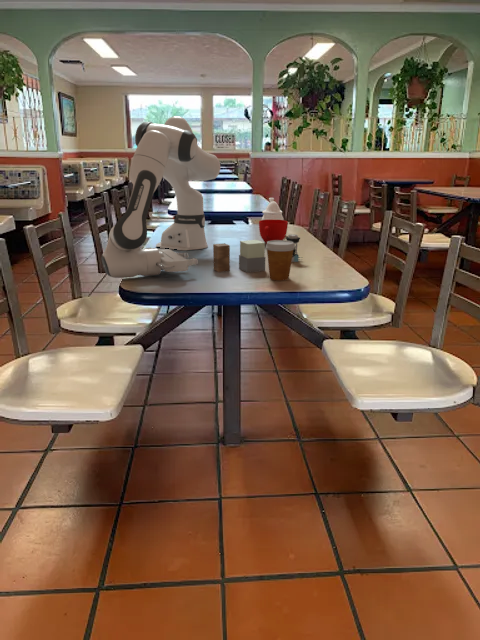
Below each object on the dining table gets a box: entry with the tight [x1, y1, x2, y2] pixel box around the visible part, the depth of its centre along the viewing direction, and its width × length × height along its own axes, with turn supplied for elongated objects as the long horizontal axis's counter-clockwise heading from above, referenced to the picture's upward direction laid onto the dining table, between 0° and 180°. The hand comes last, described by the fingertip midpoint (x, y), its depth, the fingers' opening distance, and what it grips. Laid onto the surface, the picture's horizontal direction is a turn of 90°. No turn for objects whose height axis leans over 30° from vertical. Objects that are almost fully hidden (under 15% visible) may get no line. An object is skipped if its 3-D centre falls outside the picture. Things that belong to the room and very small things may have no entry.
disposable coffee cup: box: [265, 239, 296, 282], centre depth 163 cm, size 10×10×12 cm
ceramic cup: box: [258, 219, 288, 245], centre depth 223 cm, size 13×17×10 cm
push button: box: [285, 234, 303, 263], centre depth 188 cm, size 7×5×10 cm
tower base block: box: [238, 254, 266, 273], centre depth 176 cm, size 7×7×5 cm
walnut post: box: [212, 243, 231, 273], centre depth 174 cm, size 4×4×9 cm
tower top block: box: [239, 239, 266, 258], centre depth 174 cm, size 6×6×5 cm
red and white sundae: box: [258, 197, 285, 237], centre depth 245 cm, size 13×13×18 cm
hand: (192, 258), depth 170 cm, fingers open, 8 cm apart
